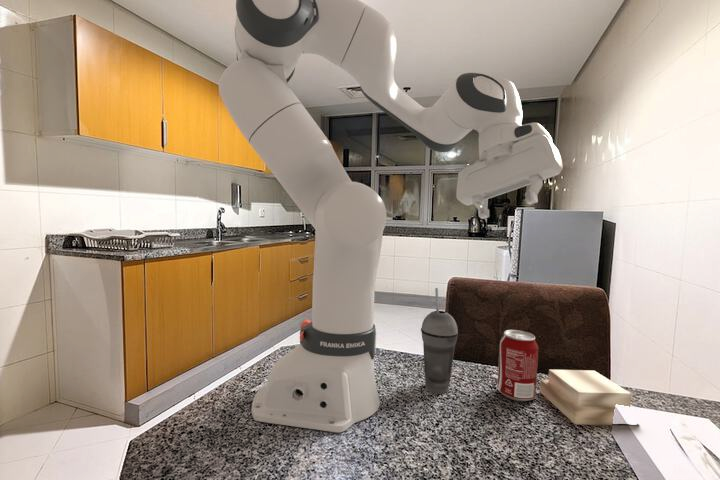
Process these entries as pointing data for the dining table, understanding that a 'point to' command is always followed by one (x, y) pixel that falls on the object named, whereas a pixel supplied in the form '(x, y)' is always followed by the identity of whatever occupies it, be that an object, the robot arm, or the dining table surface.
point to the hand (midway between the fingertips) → (506, 210)
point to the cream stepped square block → (584, 395)
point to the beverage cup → (438, 348)
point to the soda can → (518, 365)
